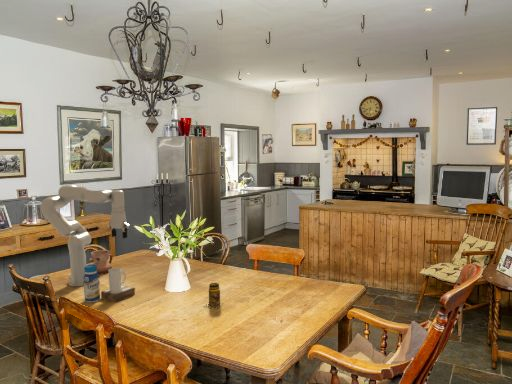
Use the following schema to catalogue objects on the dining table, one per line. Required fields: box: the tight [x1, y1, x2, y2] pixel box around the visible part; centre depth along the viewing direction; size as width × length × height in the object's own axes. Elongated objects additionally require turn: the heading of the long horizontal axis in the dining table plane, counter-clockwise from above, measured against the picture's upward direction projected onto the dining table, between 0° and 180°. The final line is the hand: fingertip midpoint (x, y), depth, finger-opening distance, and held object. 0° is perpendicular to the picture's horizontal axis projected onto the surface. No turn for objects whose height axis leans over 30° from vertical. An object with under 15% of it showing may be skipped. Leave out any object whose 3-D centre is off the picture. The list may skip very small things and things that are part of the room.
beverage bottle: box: [83, 263, 101, 303], centre depth 241 cm, size 8×8×20 cm
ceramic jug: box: [88, 249, 113, 274], centre depth 300 cm, size 18×14×14 cm
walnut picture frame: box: [100, 284, 136, 303], centre depth 248 cm, size 12×14×4 cm
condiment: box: [203, 282, 223, 309], centre depth 231 cm, size 7×8×12 cm
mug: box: [107, 267, 127, 292], centre depth 247 cm, size 10×7×12 cm, turn 133°
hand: (119, 237), depth 268 cm, fingers open, 9 cm apart
